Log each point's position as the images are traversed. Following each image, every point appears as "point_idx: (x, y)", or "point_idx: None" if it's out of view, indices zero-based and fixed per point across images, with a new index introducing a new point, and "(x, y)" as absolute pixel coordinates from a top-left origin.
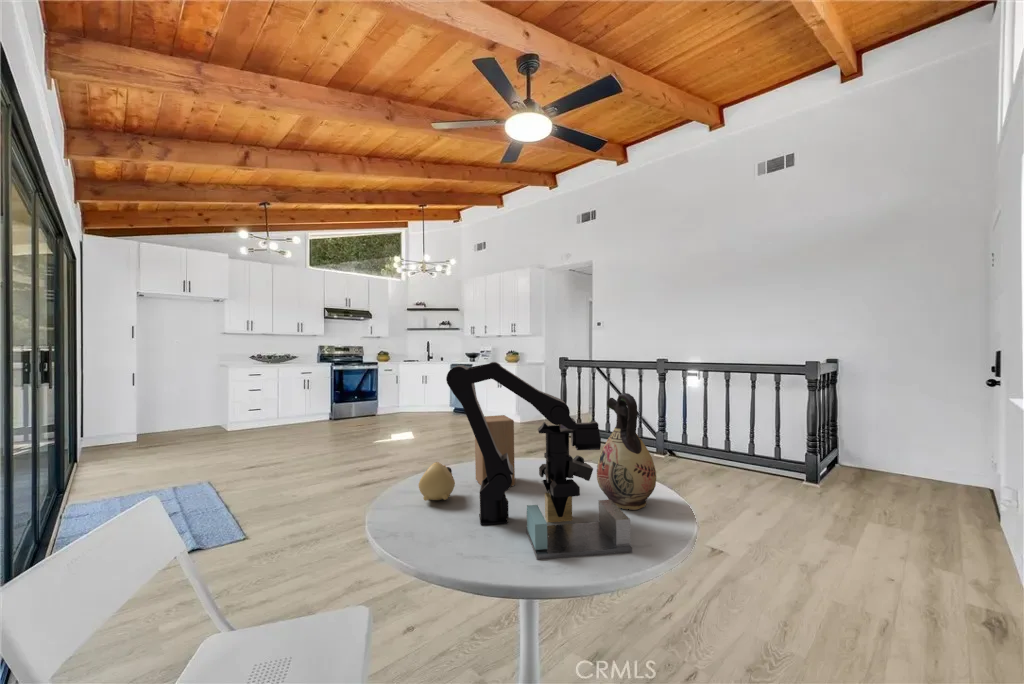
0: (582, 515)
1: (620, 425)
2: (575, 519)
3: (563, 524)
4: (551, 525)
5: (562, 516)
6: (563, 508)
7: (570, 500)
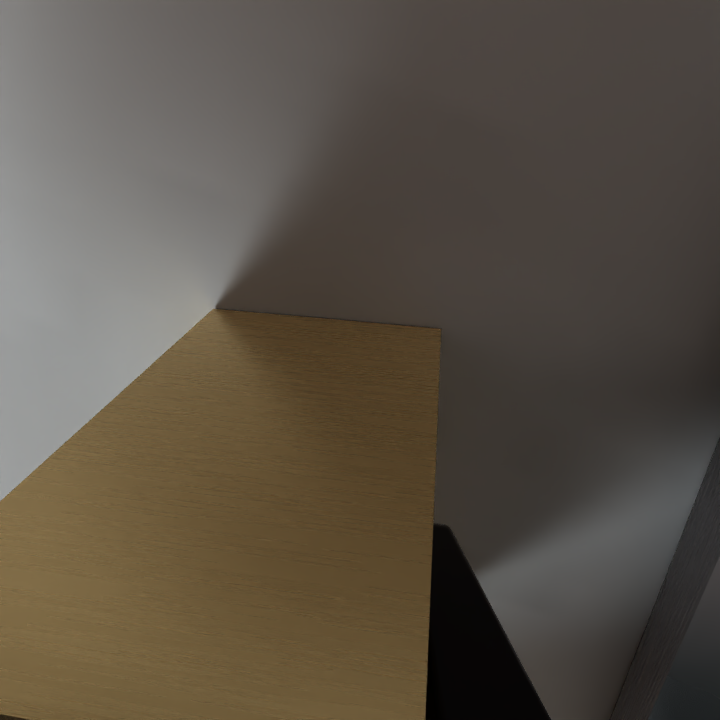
0: (231, 61)
1: None
2: (393, 258)
3: (713, 581)
4: (668, 705)
5: (447, 526)
6: (513, 670)
7: (422, 652)
